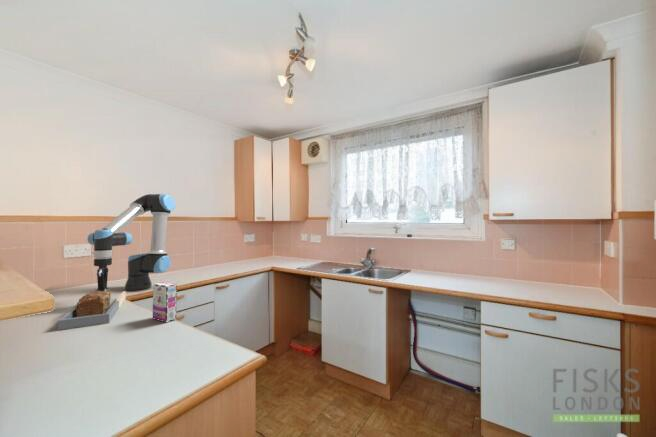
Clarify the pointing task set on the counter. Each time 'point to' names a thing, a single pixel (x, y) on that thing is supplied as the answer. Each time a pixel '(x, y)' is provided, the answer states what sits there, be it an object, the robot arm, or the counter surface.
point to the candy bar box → (164, 301)
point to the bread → (93, 303)
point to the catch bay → (72, 322)
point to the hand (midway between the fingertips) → (102, 301)
